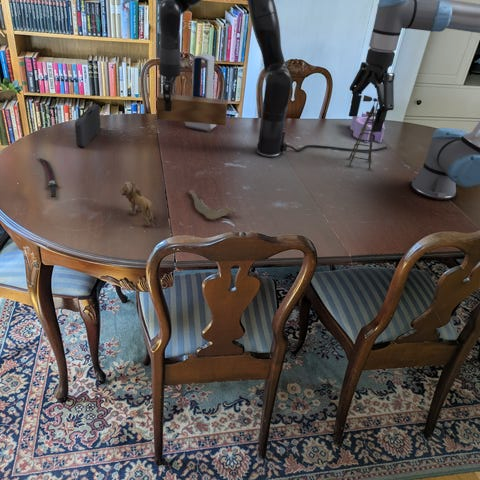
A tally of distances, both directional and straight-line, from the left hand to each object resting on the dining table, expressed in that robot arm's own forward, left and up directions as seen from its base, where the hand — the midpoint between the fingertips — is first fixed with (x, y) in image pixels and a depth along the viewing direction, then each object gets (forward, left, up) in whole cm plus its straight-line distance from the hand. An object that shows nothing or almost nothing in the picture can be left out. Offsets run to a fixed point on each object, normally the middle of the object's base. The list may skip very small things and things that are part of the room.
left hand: (169, 108), depth 174 cm
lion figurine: (+32, +45, -15) cm, 57 cm away
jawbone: (+9, +48, -15) cm, 51 cm away
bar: (-7, +5, -4) cm, 9 cm away
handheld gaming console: (+25, -19, -15) cm, 35 cm away
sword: (+48, +10, -15) cm, 52 cm away
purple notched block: (-91, +19, -15) cm, 94 cm away
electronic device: (-22, -14, -15) cm, 30 cm away
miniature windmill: (-62, +43, -15) cm, 77 cm away
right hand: (-34, +64, +12) cm, 73 cm away
